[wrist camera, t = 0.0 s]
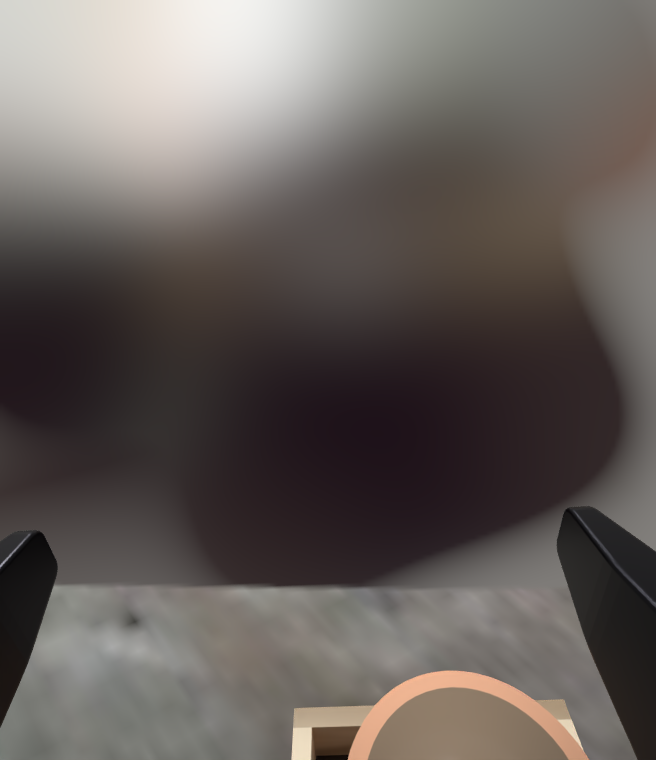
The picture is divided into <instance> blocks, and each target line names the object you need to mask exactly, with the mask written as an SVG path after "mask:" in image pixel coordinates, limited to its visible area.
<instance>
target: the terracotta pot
mask: <svg viewBox="0 0 656 760" xmlns="http://www.w3.org/2000/svg"><path fill="white" fill-rule="evenodd" d="M348 760H589V758H588V757H587V756H586V754H585V753H584V751H583V750H582V748H581V747H580V745H579V744H578V743H577V742H576V740H575V739H574V738H573V737H572V736H571V734H570V733H569V732H568V731H567V730H566V728H565V727H564V726H563V725H562V724H561V723H560V722H559V721H558V720H557V719H556V718H555V717H554V716H553V715H552V714H551V713H549V712H548V711H547V710H546V709H545V708H543V707H542V706H541V705H540V704H539V703H537V702H536V701H535V700H533V699H532V698H530V697H529V696H527V695H526V694H524V693H523V692H521V691H519V690H517V689H515V688H514V687H512V686H510V685H508V684H506V683H504V682H501V681H499V680H496V679H494V678H491V677H488V676H484V675H480V674H477V673H471V672H464V671H440V672H432V673H428V674H424V675H420V676H417V677H415V678H412V679H410V680H407V681H406V682H404V683H402V684H400V685H399V686H397V687H395V688H394V689H393V690H391V691H390V692H389V693H387V694H386V695H385V696H384V697H383V698H382V699H381V700H380V701H379V702H378V703H377V704H376V705H375V706H374V707H373V708H372V710H371V711H370V713H369V714H368V715H367V717H366V718H365V719H364V721H363V723H362V725H361V727H360V729H359V730H358V732H357V734H356V737H355V739H354V742H353V744H352V747H351V749H350V753H349V757H348Z"/></svg>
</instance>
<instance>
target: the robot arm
mask: <svg viewBox="0 0 656 760" xmlns="http://www.w3.org/2000/svg"><path fill="white" fill-rule="evenodd" d="M557 552H558V556H559V559H560V562H561V565H562V569H563V572H564V574H565V578H566V581H567V584H568V587H569V590H570V593H571V597H572V600H573V603H574V606H575V609H576V612H577V615H578V618H579V621H580V625H581V628H582V631H583V634H584V636H585V639H586V642H587V645H588V647H589V650H590V652H591V655H592V657H593V659H594V662H595V664H596V666H597V669H598V671H599V673H600V675H601V678H602V680H603V682H604V684H605V687H606V689H607V691H608V693H609V696H610V698H611V700H612V703H613V705H614V707H615V709H616V712H617V714H618V716H619V718H620V721H621V723H622V725H623V728H624V730H625V732H626V734H627V737H628V739H629V741H630V743H631V746H632V748H633V750H634V753H635V755H636V757H637V759H638V760H656V551H654V550H653V549H652V548H650V547H649V546H647V545H646V544H645V543H643V542H642V541H640V540H639V539H638V538H636V537H635V536H633V535H632V534H631V533H629V532H628V531H626V530H625V529H623V528H622V527H621V526H619V525H618V524H616V523H615V522H614V521H612V520H611V519H609V518H608V517H607V516H605V515H604V514H603V513H601V512H600V511H598V510H597V509H595V508H593V507H590V506H581V507H569V508H567V509H566V510H565V511H564V514H563V518H562V522H561V527H560V530H559V535H558V538H557ZM57 570H58V566H57V561H56V559H55V557H54V555H53V553H52V550H51V548H50V546H49V544H48V542H47V540H46V538H45V536H44V534H43V533H42V532H40V531H37V530H29V531H17V532H14V533H12V534H10V535H9V536H7V537H6V538H4V539H3V540H2V541H0V727H1V725H2V723H3V720H4V718H5V716H6V713H7V711H8V709H9V707H10V704H11V702H12V700H13V697H14V695H15V693H16V690H17V688H18V686H19V684H20V681H21V679H22V676H23V674H24V671H25V669H26V667H27V664H28V661H29V659H30V656H31V653H32V650H33V647H34V644H35V641H36V638H37V635H38V632H39V629H40V626H41V623H42V620H43V616H44V613H45V610H46V607H47V604H48V601H49V598H50V595H51V592H52V589H53V586H54V583H55V579H56V576H57Z"/></svg>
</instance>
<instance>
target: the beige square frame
mask: <svg viewBox="0 0 656 760" xmlns="http://www.w3.org/2000/svg"><path fill="white" fill-rule="evenodd" d="M535 701H536V702H537V703H539V704H540V705H541V706H542V707H543V708H545V709H546V710H547V711H548V712H549V713H551V714H552V715H553V716H554V717H555V718H556V719H557V720H558V721H559V722H560V723H561V724H562V725H563V726H564V727H565V728H566V730H567V731H568V732H569V733H570V734H571V736H572V737H573V738H574V739H575V740H576V742H577V743H578V744H579V745H580V747H581V748H582V746H581V743H580V740H579V738H578V735H577V733H576V730H575V728H574V725H573V722H572V720H571V717H570V715H569V712H568V709H567V707H566V704H565V702H564V699H563V700H535ZM373 707H374V706H347V707H317V708H294V726H293V744H292V760H316V756H324V755H349V753H350V749H351V747H352V744H353V742H354V739H355V737H356V734H357V732H358V730H359V729H360V727H361V725H362V723H363V721H364V719H365V718H366V717H367V715H368V714H369V713H370V711H371V710H372V708H373ZM582 750H583V748H582Z"/></svg>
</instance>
